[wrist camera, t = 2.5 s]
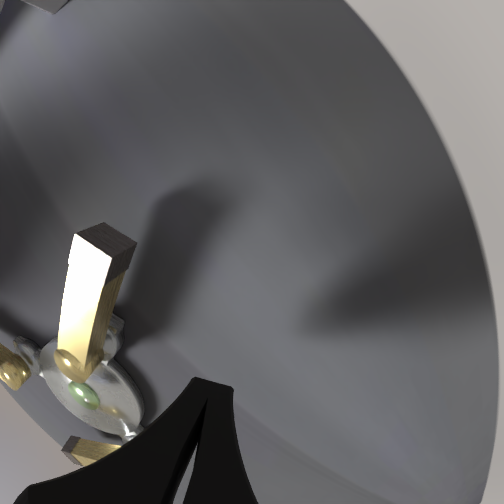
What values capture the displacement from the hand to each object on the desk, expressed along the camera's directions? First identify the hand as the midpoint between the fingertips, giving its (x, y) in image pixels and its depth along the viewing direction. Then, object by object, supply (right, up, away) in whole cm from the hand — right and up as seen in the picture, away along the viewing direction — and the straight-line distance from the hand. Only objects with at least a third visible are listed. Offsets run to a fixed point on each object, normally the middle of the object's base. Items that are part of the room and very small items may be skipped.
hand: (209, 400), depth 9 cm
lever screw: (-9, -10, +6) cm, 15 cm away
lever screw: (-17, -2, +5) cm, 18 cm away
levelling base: (-9, -4, +6) cm, 12 cm away
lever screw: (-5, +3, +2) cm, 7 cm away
